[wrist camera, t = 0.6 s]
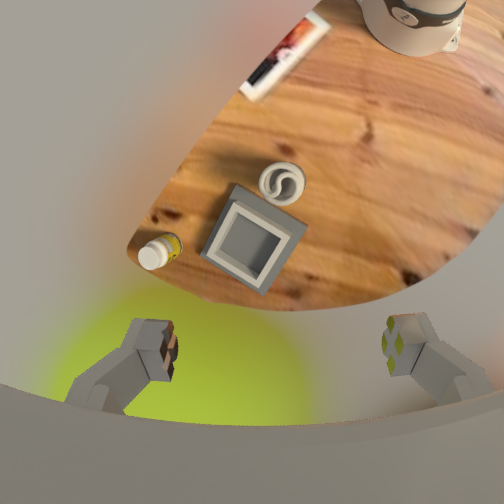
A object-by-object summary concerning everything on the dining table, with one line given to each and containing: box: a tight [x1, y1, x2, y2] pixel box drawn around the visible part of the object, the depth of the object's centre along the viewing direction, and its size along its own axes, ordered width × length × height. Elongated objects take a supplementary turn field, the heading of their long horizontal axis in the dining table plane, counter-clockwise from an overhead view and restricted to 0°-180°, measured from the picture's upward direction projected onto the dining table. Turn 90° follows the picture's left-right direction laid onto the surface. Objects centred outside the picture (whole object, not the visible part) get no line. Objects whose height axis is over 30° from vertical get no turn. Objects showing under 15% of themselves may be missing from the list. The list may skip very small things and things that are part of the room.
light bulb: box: [258, 162, 306, 206], centre depth 44 cm, size 6×6×12 cm
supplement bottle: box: [138, 233, 182, 270], centre depth 54 cm, size 5×5×8 cm
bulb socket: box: [200, 184, 308, 296], centre depth 52 cm, size 14×13×4 cm
